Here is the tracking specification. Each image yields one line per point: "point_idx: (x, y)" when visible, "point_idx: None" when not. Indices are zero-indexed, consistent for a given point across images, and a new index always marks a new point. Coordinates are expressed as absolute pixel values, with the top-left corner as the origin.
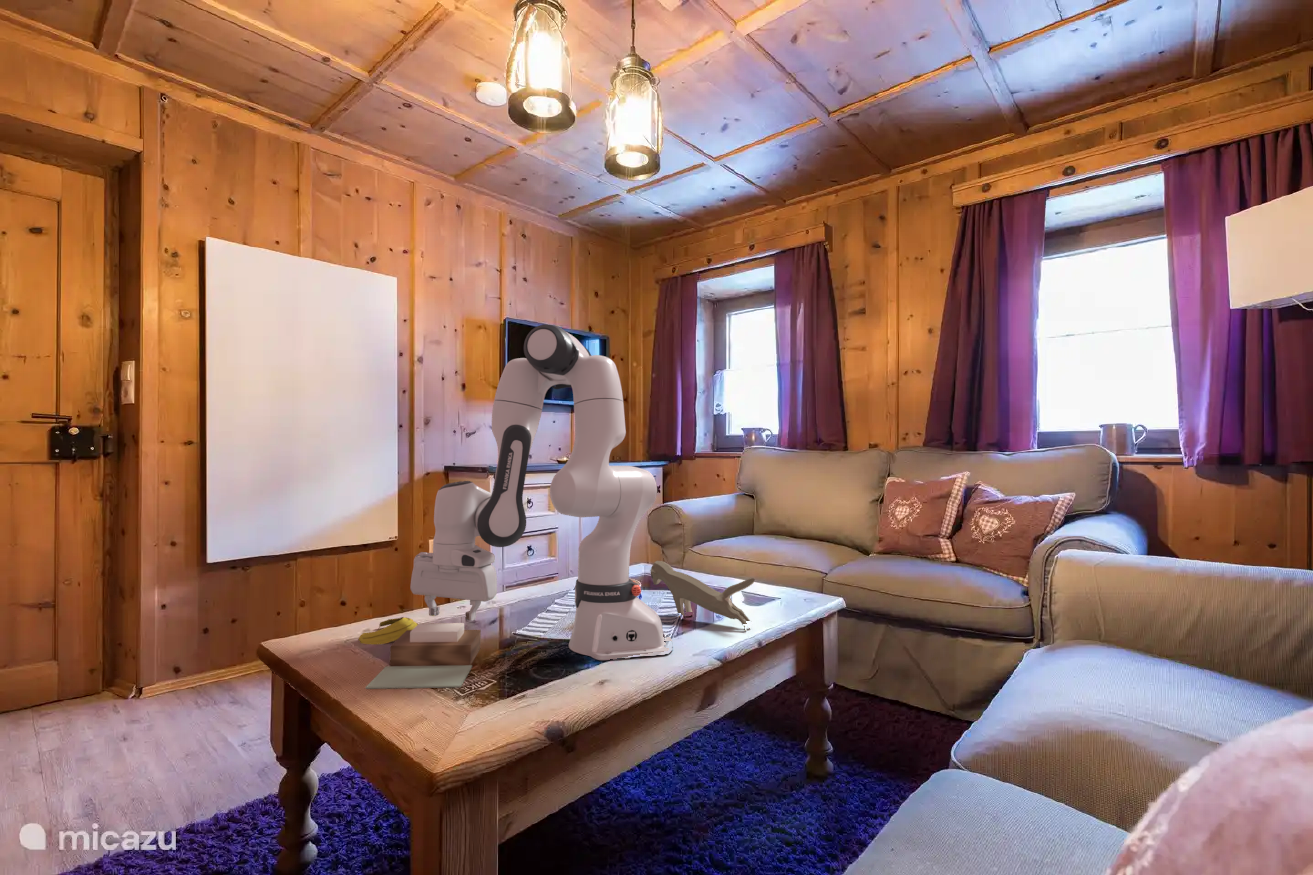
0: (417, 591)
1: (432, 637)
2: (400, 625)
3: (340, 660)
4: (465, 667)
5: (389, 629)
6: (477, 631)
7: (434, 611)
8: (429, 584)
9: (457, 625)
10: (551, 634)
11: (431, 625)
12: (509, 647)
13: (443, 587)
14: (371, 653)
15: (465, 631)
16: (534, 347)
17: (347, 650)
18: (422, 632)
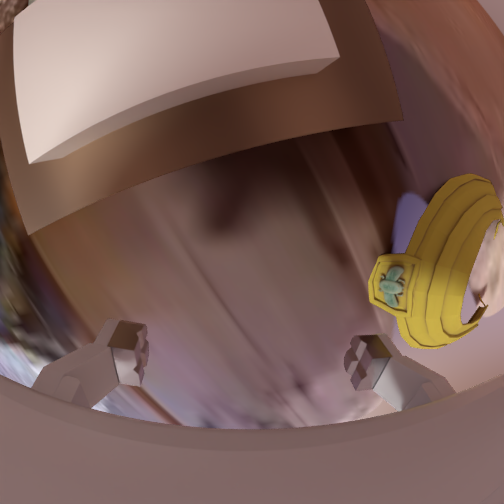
0: (500, 386)
1: None
2: (453, 259)
3: (459, 35)
4: None
5: (470, 227)
6: (24, 203)
7: (365, 349)
8: (479, 454)
9: (40, 96)
10: (20, 368)
11: (214, 21)
12: (15, 254)
13: (361, 496)
14: (435, 83)
15: (66, 179)
16: None
17: (488, 115)
18: None
